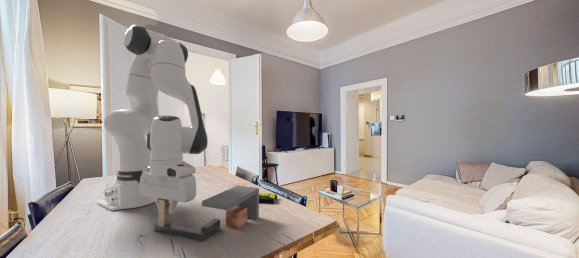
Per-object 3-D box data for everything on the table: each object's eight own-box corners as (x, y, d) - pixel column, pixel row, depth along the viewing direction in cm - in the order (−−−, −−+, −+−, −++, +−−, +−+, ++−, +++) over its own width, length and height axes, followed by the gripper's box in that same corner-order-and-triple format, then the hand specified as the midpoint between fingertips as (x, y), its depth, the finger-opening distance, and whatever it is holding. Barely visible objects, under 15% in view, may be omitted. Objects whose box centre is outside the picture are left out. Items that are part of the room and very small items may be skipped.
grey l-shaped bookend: (201, 236, 62) (201, 201, 62) (237, 213, 78) (237, 185, 78) (227, 242, 58) (227, 205, 58) (258, 217, 75) (258, 188, 75)
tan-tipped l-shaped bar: (153, 231, 64) (153, 199, 64) (175, 220, 72) (176, 191, 72) (201, 242, 59) (201, 206, 59) (220, 228, 67) (220, 197, 66)
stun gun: (270, 204, 81) (277, 193, 96) (223, 201, 84) (237, 190, 99) (270, 212, 81) (277, 199, 96) (223, 209, 84) (237, 196, 99)
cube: (225, 225, 69) (225, 210, 69) (234, 219, 74) (234, 205, 74) (238, 228, 67) (238, 212, 67) (247, 221, 72) (247, 207, 72)
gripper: (133, 167, 66) (132, 211, 66) (183, 172, 59) (182, 221, 59) (152, 163, 72) (152, 204, 72) (199, 168, 65) (199, 213, 65)
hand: (166, 212), depth 65 cm, fingers closed on tan-tipped l-shaped bar, 2 cm apart
